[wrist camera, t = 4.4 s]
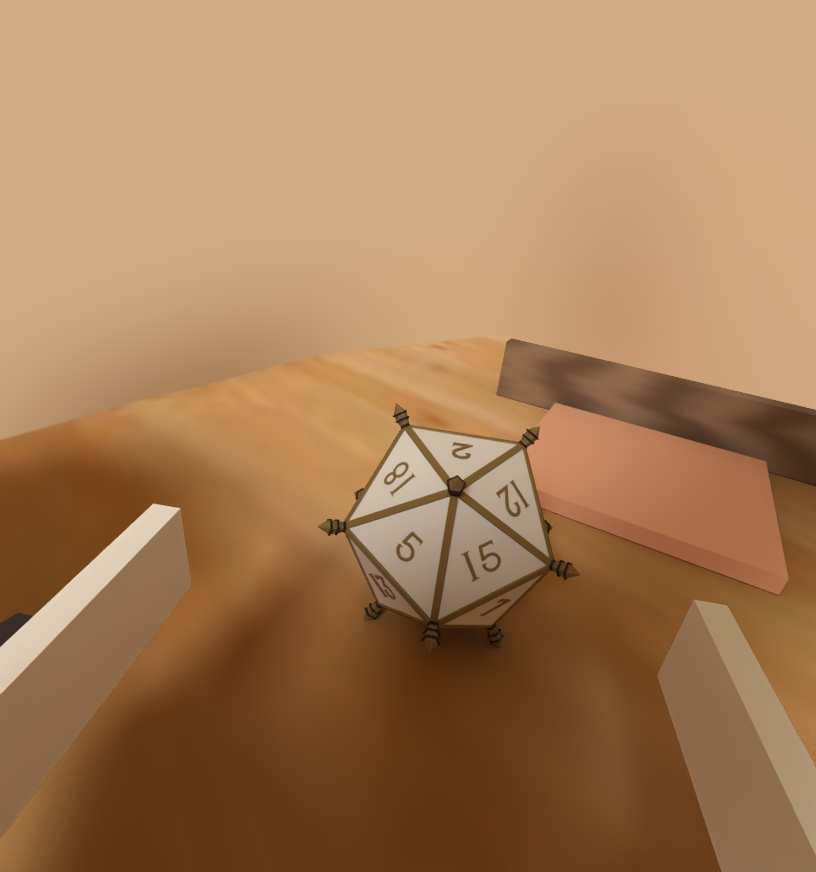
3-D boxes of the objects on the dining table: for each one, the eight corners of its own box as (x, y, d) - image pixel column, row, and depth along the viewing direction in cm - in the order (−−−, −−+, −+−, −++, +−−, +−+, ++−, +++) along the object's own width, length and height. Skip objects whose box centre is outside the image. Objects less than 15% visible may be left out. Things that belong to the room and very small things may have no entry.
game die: (383, 652, 23) (294, 448, 22) (545, 569, 24) (464, 376, 24) (421, 783, 14) (274, 450, 13) (674, 641, 15) (549, 334, 15)
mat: (759, 474, 33) (765, 461, 33) (778, 595, 23) (788, 578, 22) (552, 414, 39) (555, 402, 38) (493, 490, 28) (495, 475, 28)
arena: (865, 492, 32) (904, 430, 30) (972, 696, 19) (1054, 611, 17) (501, 390, 42) (511, 338, 40) (401, 476, 29) (408, 405, 27)
